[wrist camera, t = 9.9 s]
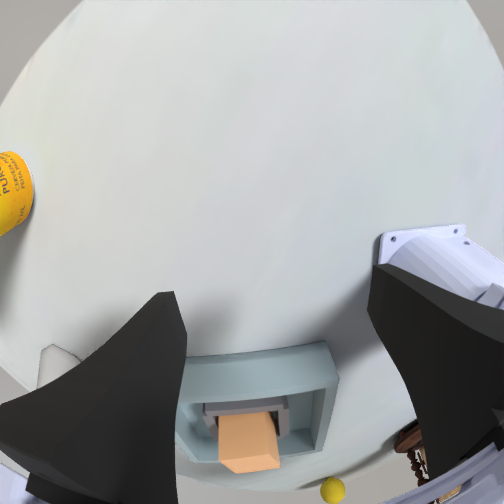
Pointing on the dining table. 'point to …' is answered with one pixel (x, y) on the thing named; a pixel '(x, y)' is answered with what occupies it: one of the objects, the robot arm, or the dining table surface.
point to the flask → (54, 364)
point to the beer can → (14, 191)
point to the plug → (248, 442)
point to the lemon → (332, 490)
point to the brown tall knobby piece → (409, 445)
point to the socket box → (258, 397)
